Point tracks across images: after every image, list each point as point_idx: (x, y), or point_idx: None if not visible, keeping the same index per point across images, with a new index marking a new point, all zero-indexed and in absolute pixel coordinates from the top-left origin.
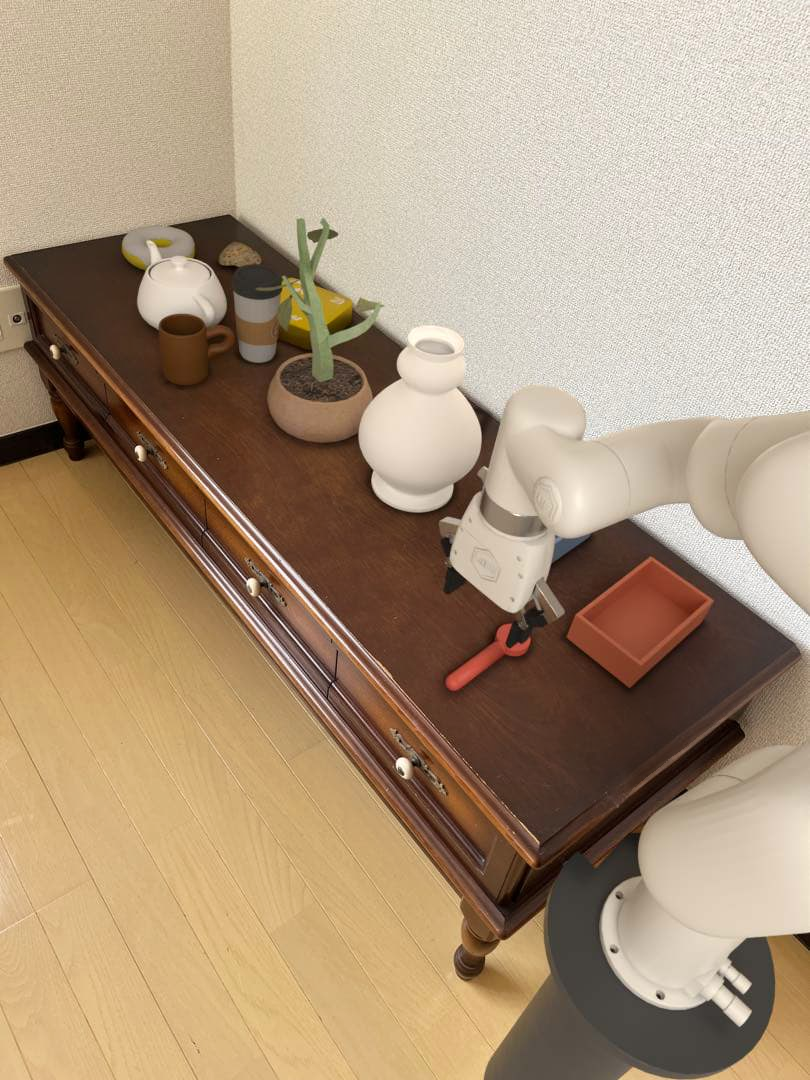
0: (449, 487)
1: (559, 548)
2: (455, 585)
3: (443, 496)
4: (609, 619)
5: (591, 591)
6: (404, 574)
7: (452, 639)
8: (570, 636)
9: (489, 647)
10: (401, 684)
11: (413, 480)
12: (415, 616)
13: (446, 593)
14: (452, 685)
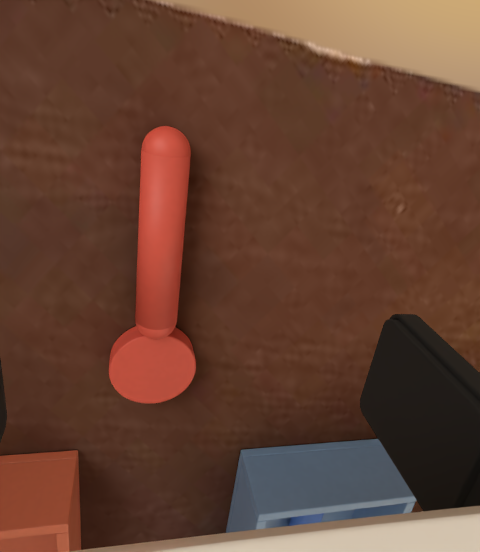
0: None
1: None
2: (396, 374)
3: None
4: (45, 538)
5: None
6: (440, 311)
7: (260, 263)
8: (67, 460)
9: (170, 305)
10: (274, 44)
11: None
12: (364, 247)
13: (398, 317)
14: (158, 133)
